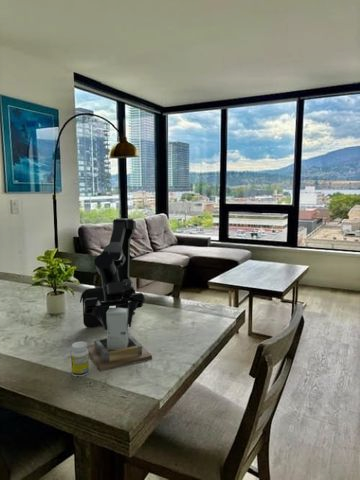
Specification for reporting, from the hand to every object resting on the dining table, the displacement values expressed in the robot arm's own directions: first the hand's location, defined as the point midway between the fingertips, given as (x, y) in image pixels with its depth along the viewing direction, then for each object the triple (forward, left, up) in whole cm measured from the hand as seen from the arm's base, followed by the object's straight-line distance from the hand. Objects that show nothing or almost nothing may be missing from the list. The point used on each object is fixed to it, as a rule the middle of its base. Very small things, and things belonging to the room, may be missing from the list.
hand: (118, 328), depth 109 cm
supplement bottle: (-4, -13, -9) cm, 16 cm away
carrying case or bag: (-21, +16, -9) cm, 28 cm away
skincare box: (-1, +1, -7) cm, 7 cm away
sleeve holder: (-1, +1, -9) cm, 9 cm away
